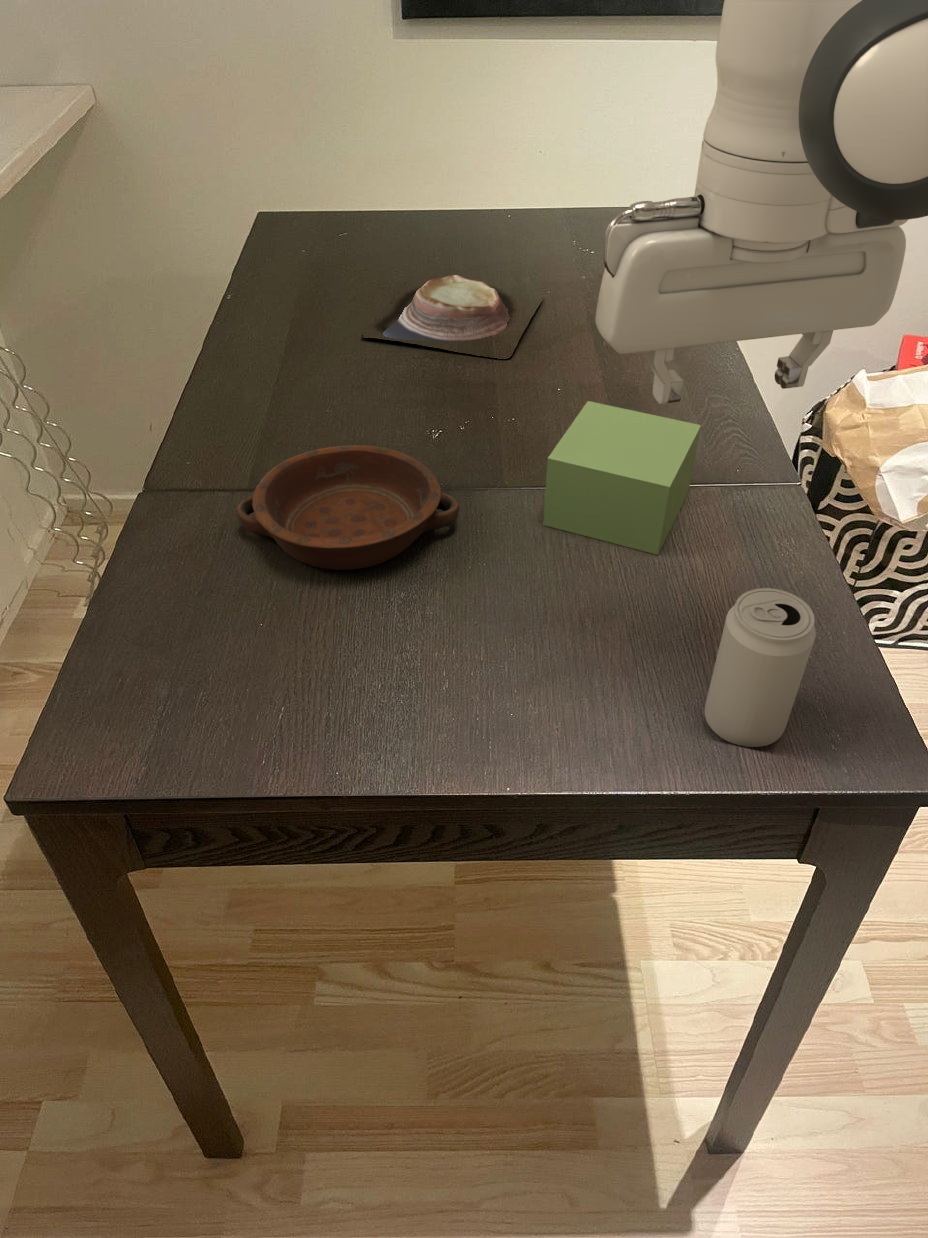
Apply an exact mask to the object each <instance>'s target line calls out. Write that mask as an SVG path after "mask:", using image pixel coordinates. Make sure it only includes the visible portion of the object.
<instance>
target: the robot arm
mask: <svg viewBox="0 0 928 1238" xmlns="http://www.w3.org/2000/svg"><path fill="white" fill-rule="evenodd" d="M722 6H723V7H722V11H721V16H720V17H721V18H720V23H719V29H718V35H717V41H716V46H715V58H714V59H715V60H714V61H715V67H716V82H717V83H716V92H715V98H714V103H713V106H712V108H711V111H710V114H709V115H708V117H707V120H706V122H705V125H704V130H703V134H702V141H701V148H700V154H699V159H698V160H699V161H698V166H697V167H698V168H697V174H696V179H695V181H696V182H695V188H694V194H693V196H687V197H676V198H671V199H667V200H661V201H652V200H642V201H636V202H634V203H631V204H630V205H629V207H628V209H627V210H624V211H622V212H621V213H619V214H618V215H616V216H615V217H614V218H613V220H612V221H611V222H610V223H609V224H608V225H607V228H606V231H605V236H604V246H603V258H602V259H603V264H604V270H603V274H602V278H601V282H600V288H599V293H598V298H597V304H596V311H595V326H596V329H597V331H598V332H599V335H600V336H601V337H602V339H603V340H604V341H605V342H606V343H607V345H609V346H610V348H611V349H613V350H614V352H616V353H617V354H619V355H625V354H637V353H643V354H644V356H645V358H646V360H647V362H648V364H649V366H650V368H651V370H652V372H653V374H654V376H653V383H652V395H653V398H654V399H655V401H656V402H657V403H658V404H659V405H664V404H671V403H680V401H682V394H681V393H682V391H683V389H684V383H685V381H684V380H683V378H682V377H681V376H680V375H678V374H679V373H678V372H677V371H676V370H675V369H668V368H667V365H666V363H667V362H671V361H673V360H674V354H675V349H679V348H689V347H696V346H697V347H698V346H705V345H715V344H723V343H725V344H726V343H731V342H732V343H733V342H740V341H750V340H760V339H768V338H778V337H785V336H794V335H801V337H800V338H799V340H798V342H797V343H796V344H795V346H794V347H793V349H792V350H791V352H790V353H789V354H788V356H779V357H778V359H777V362H776V368H777V369H776V370H775V372H774V381H775V383H776V384H777V385H779V387H780V388H781V389H782V390H784V389H792V388H800V387H804V385H805V382H806V379H807V375H808V372H809V368H810V367H811V366H812V365H813V364H814V362H816V360H817V359H818V358H819V357H820V355H821V354H822V353H823V352H824V351H826V349H827V347H828V346H829V345H830V344H831V340H832V337H833V333H834V331H839V330H848V329H857V328H865V327H872V326H873V327H874V326H875V325H876V324H877V323H878V322H879V321H880V320H881V319H883V318H884V316H885V315H886V314H887V313H888V312H889V311H890V309H891V306H892V304H893V301H894V298H895V295H896V292H897V289H898V286H899V281H900V277H901V273H902V269H903V265H904V259H905V255H906V249H907V248H906V247H907V239H906V234H905V231H904V230H903V228H902V227H901V226H903V225H905V224H906V223H907V222H908V221H909V220H916V219H921V218H924V217H928V0H724V1H723V5H722ZM628 218H629V219H628ZM625 219H627V220H625Z"/></svg>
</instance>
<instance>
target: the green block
mask: <svg viewBox="0 0 928 1238" xmlns="http://www.w3.org/2000/svg"><path fill="white" fill-rule="evenodd" d="M701 428H702V425H701V424H698V423H693V422H688V421H683V420H679V419H675V418H669V417H665V416H660V415H655V414H650V413H647V412H646V413H645V412H641V411H637V410H633V409H627V408H622V407H618V406H613V405H609V404H605V403H599V402H595V401H590V400H587V401H586V403H585V404H584V406H582V408H581V410H580V411H579V413H578V414H577V415H576V417H575V418H574V420H573V421H572V423H570V426H569V427H568V428H567V430H566V431H565V432H564V434H563V435H562V437H561V438H560V440H559V441H558V442H557V444H556V445H555V447H554V448H553V449H552V451H551V452H550V454H549V456H547V462H546V477H545V479H546V480H545V490H544V491H545V493H544V507H543V523H542V525H543V526H545V527H549V528H553V529H557V530H561V531H564V532H567V533H572V534H576V535H578V536H579V535H580V536H584V537H587V538H591V539H595V540H598V541H603V542H607V543H611V544H614V545H618V546H622V547H625V548H630V549H634V550H638V551H641V552H645V553H648V554H649V553H650V554H653V555H657V556H658V555H660V552H661V550H662V549H663V547H664V544H665V542H666V539H667V537H668V535H669V534H670V532H671V529H672V527H673V525H674V524H675V521H676V519H677V517H678V516H679V512H680V511H681V508H682V506H683V505H684V502H685V500H686V498H687V495H688V494H689V492H690V486H691V482H692V476H693V470H694V465H695V461H696V455H697V450H698V444H699V439H700V434H701Z"/></svg>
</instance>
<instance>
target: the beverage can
mask: <svg viewBox="0 0 928 1238" xmlns="http://www.w3.org/2000/svg"><path fill="white" fill-rule="evenodd" d="M815 620H816V618H815V614H814V612H813V610H812V608H811V606H809V604H808V603H807V602H805V601H804V600H803V599H802V598H800V597H799V596H798V595H795V594H794V593H791V592H788V591H786V590H782V589H778V588H773V587H771V588H769V587H761V588H755V589H750V590H748V591H745V592H744V593H742V594H740V595H739V597H738V598H737V599H736V601H735V603H734V605H733V606H731V607H730V609H729V611H728V612H727V614H726V617H725V622H724V626H723V631H722V634H721V638H720V643H719V647H718V651H717V653H716V654H717V655H716V659H715V663H714V667H713V671H712V676H711V680H710V683H709V688H708V692H707V696H706V699H705V704H704V717H705V721H706V723H707V724H708V726H709V728H710V729H711V730H712V731H713V732H714V733H715V734H716V735H717V736H718V737H720V738H721V739H723V740H725V741H726V742H729V743H731V744H733V745H736V746H739V747H744V748H760V747H765V746H769V745H771V744H773V743H775V742H776V741H779V739H780V738H781V737H782V736H783V734H784V732H785V730H786V727H787V724H788V721H789V719H790V714H791V713H792V709H793V707H794V704H795V700H796V699H797V698H796V697H797V694H798V692H799V691H798V690H799V689H800V685H801V682H802V680H803V676H804V673H805V671H806V668H807V664H808V661H809V659H810V655H811V653H812V649H813V646H814V643H815V640H816V638H817V637H816V636H817V631H816V627H815Z"/></svg>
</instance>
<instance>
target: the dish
mask: <svg viewBox="0 0 928 1238" xmlns="http://www.w3.org/2000/svg"><path fill="white" fill-rule="evenodd" d="M442 491H443V490H442V486H441V484H440V482H439V481H438V478H436V476H435V475H434V473H433V472H432V471H431V470H430V469H429V468H428V467H427V466H426V465H425V464H424V463H423V462H421V461H420V460H419V459H416V458H414V457H412V456H410V455H408V454H406V453H403V452H400V451H397V450H395V449H391V448H388V447H384V446H377V445H359V444H355V445H352V444H351V445H337V446H329V447H323V448H318V449H314V450H310V451H306V452H304V453H301V454H300V453H299V454H298V455H294V456H292V457H290V458H287V459H286V460H284V461H282V462H280V463H278V464H277V465H275V466H274V467H273V468H271V470H269V471H268V472H267V473H266V474H265V475H264V476H263V477H262V478H261V479H260V482H259V483H258V484H257V485H256V487H255V490H253V492H252V495H251V496H249V497H246V498H244V499H242V501H240V502H239V503H238V505H237V507H236V516H237V518H238V520H239V522H240V525H241V526H242V528H244V529H245V530H246V531H247V532H250V533H252V534H257V535H260V536H265V537H269V538H272V539H273V540H274V541H275V542H276V543H277V545H278V546H279V547H280V548H281V549H282V550H283V551H284V552H285V553H286V554H288V555H289V556H290V557H291V558H293V559H295V560H297V561H298V562H301V563H303V564H305V565H308V566H311V567H315V568H320V569H326V570H333V571H334V570H335V571H350V570H358V569H365V568H369V567H373V566H377V565H380V564H382V563H384V562H386V561H388V560H390V559H392V558H394V557H396V556H398V555H399V554H401V553H402V552H404V551H405V550H406V549H407V548H408V547H410V546H411V545H412V544H413V543H414V542H415V541H416V540H417V539H418V538H419V537H420V536H421V535H422V534H423V533H424V532H427V531H432V530H437V529H442V528H446V527H447V528H448V527H449V526H451V525H454V523H456V521H457V520H458V517H459V511H460V504H459V501H458V500H456V498H454V497H453V496H452V495H450V494H447V493H444V492H442ZM438 510H439V511H438ZM253 513H254V516H250V515H251V514H253Z"/></svg>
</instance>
